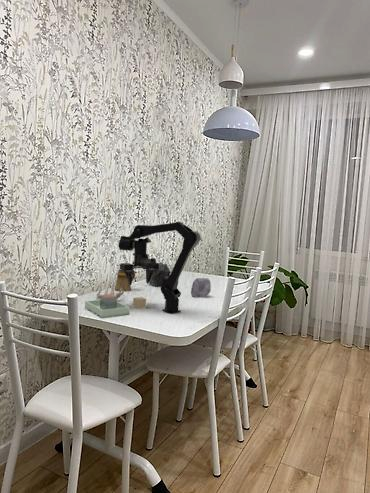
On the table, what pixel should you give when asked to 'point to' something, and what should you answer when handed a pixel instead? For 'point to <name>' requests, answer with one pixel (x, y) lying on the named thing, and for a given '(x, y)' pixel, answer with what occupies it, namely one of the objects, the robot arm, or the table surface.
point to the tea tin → (108, 302)
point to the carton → (139, 302)
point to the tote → (95, 307)
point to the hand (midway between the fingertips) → (139, 284)
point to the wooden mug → (123, 281)
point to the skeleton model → (110, 293)
